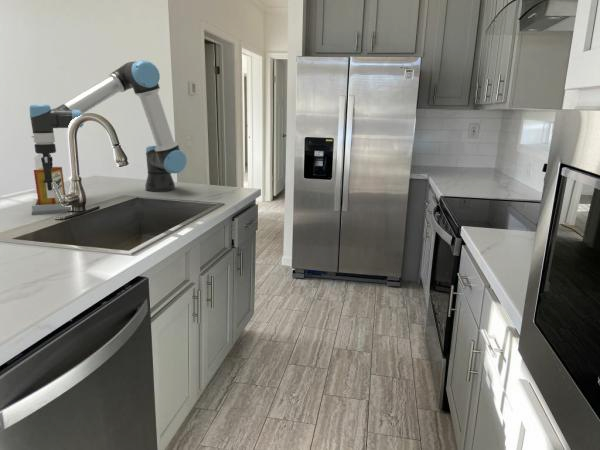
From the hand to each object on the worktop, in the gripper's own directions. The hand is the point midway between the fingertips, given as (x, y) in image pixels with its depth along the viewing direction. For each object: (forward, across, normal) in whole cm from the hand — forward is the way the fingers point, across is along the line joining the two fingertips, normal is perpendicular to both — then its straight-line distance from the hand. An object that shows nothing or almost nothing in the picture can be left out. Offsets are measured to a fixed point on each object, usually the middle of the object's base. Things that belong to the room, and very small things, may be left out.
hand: (51, 195), depth 190 cm
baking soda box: (+4, 0, 0) cm, 4 cm away
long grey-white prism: (+6, -35, -4) cm, 36 cm away
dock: (+6, 0, 0) cm, 6 cm away
